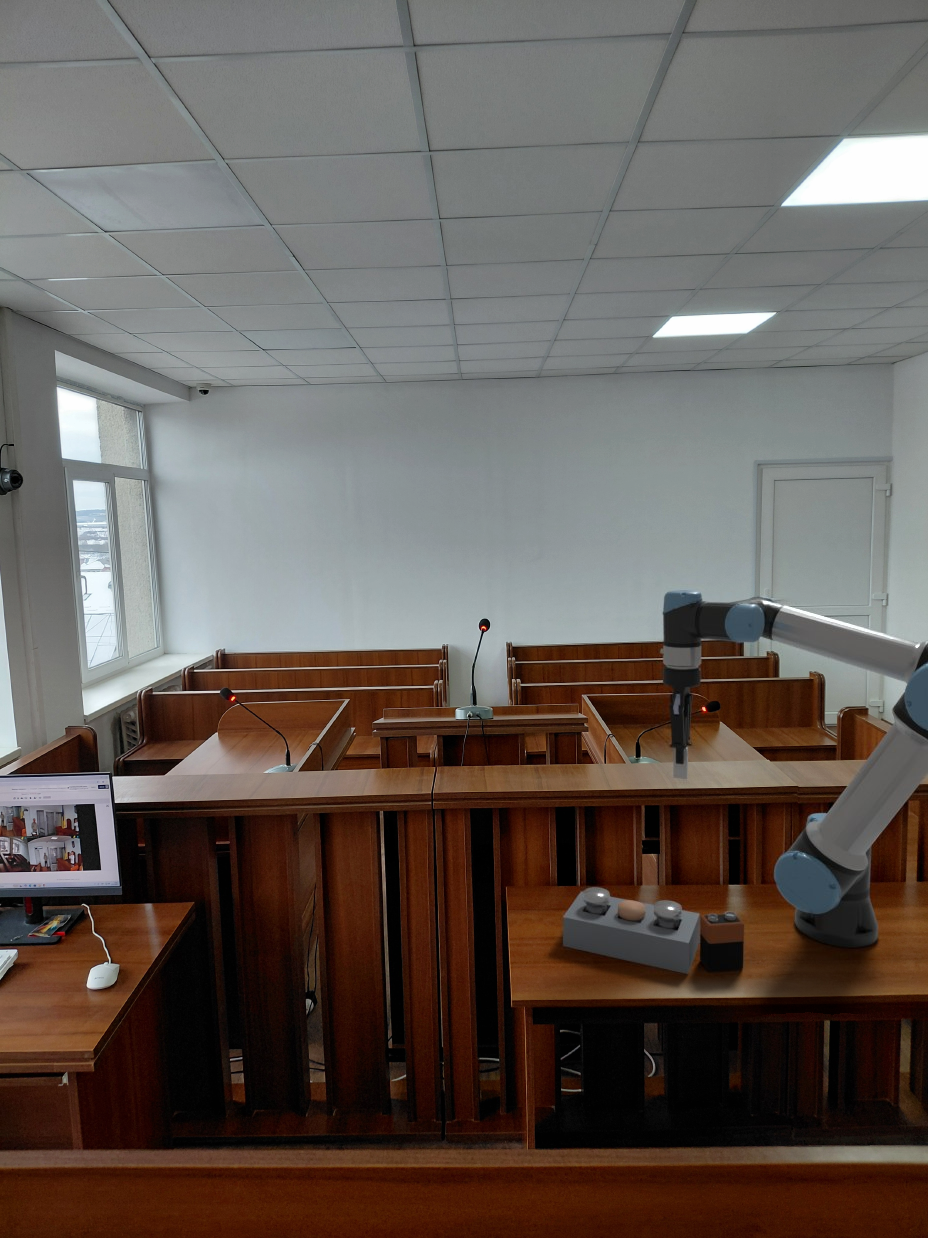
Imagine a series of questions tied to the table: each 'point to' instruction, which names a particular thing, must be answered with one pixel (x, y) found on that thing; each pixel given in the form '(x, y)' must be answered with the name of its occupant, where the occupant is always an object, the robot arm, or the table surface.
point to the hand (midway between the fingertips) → (680, 777)
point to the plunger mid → (631, 910)
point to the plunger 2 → (667, 914)
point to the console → (632, 936)
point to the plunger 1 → (596, 900)
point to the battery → (721, 942)
